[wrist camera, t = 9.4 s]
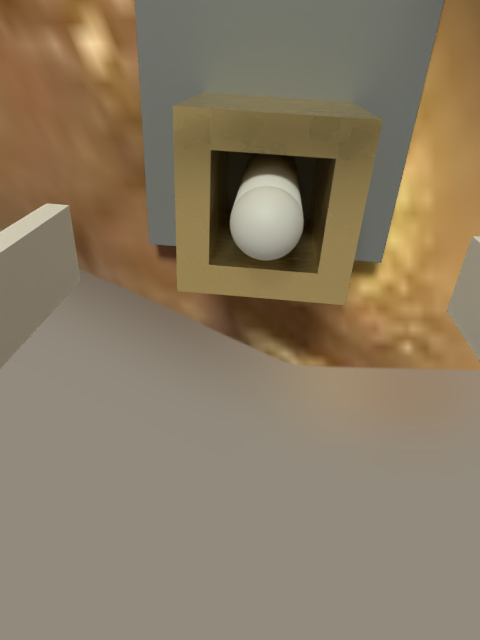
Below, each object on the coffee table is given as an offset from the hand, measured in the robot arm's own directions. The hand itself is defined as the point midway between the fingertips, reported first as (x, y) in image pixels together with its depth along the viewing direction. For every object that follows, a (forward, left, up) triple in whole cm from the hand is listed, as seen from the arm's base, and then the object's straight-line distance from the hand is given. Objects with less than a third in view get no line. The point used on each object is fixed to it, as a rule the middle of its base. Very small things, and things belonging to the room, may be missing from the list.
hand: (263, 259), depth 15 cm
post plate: (0, -6, -14) cm, 15 cm away
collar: (0, 0, -13) cm, 13 cm away
